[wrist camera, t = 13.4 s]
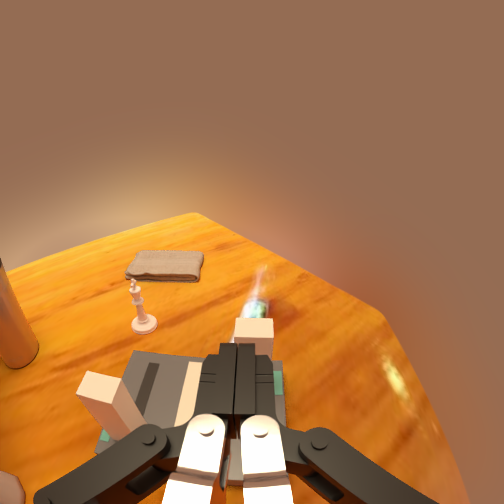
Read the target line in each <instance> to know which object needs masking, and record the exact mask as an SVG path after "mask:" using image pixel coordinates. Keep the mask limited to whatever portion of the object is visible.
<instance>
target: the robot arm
mask: <svg viewBox="0 0 504 504" xmlns="http://www.w3.org/2000/svg"><path fill="white" fill-rule="evenodd" d="M38 347H39V344H38V341H37V339H36V337H35V335H34V333H33V331H32V329H31V327H30V325H29V323H28V321H27V320H26V318H25V315H24V313H23V311H22V309H21V307H20V305H19V303H18V301H17V298H16V296H15V294H14V292H13V290H12V287H11V285H10V282H9V280H8V278H7V275H6V272H5V270H4V267H3V264H2V262H1V259H0V357H1V358H2V359H3V361H4V362H5V364H6V365H7V366H8V367H10V368H14V369H16V368H21V367H24V366H25V365H27V364H28V363H30V362H31V361H32V360H33V359H34V357H35V356H36V354H37V352H38ZM237 435H238V439H240V443H241V450H242V463H243V488H244V503H245V504H293V500H292V493H291V487H290V482H289V478H288V476H287V473H290V474H295V475H296V476H298V477H299V478H300V479H301V480H302V481H303V482H304V483H306V484H307V485H308V486H309V487H310V488H312V489H313V490H314V491H315V492H316V493H318V494H319V495H320V496H321V497H322V498H324V499H325V500H326V501H328V502H329V503H330V504H439V503H437V502H435V501H434V500H432V499H430V498H428V497H427V496H425V495H423V494H422V493H420V492H418V491H417V490H415V489H413V488H412V487H410V486H409V485H407V484H405V483H404V482H402V481H401V480H399V479H398V478H396V477H395V476H393V475H392V474H390V473H389V472H387V471H386V470H384V469H383V468H381V467H380V466H378V465H377V464H375V463H374V462H373V461H371V460H370V459H368V458H367V457H366V456H364V455H363V454H361V453H360V452H359V451H357V450H356V449H355V448H353V447H352V446H351V445H349V444H348V443H347V442H345V441H344V440H343V439H341V438H340V437H339V436H337V435H336V434H335V433H334V432H332V431H331V430H329V429H326V428H321V427H317V428H313V429H310V430H308V431H306V432H302V431H297V430H293V429H289V428H287V427H285V426H284V425H282V424H281V423H280V422H279V420H278V419H277V416H276V408H275V390H274V373H273V363H272V361H271V360H270V358H269V356H268V355H255V343H238V344H237V343H220V349H219V355H212V354H209V355H208V356H207V357H206V359H205V360H204V361H203V363H202V367H201V375H200V379H199V385H198V390H197V396H196V402H195V408H194V413H193V415H192V417H191V418H190V419H189V421H187V422H186V423H184V424H183V425H180V426H176V427H171V428H164V429H162V428H160V427H159V426H157V425H154V424H144V425H141V426H139V427H138V428H136V429H135V430H133V431H132V432H131V433H129V434H128V435H126V436H125V437H123V438H122V439H120V440H119V441H118V442H116V443H115V444H113V445H112V446H110V447H109V448H107V449H106V450H104V451H103V452H101V453H100V454H98V455H97V456H95V457H94V458H92V459H90V460H89V461H87V462H86V463H84V464H83V465H81V466H79V467H78V468H76V469H74V470H73V471H71V472H69V473H68V474H66V475H64V476H63V477H61V478H59V479H58V480H56V481H54V482H52V483H51V484H49V485H47V486H45V487H44V488H42V489H40V490H38V491H37V492H36V493H35V495H34V498H33V503H34V504H137V503H139V502H140V501H141V500H143V499H144V498H146V497H147V496H149V495H150V494H151V493H153V492H154V491H155V490H157V489H158V488H159V487H161V486H162V485H163V484H165V483H166V482H167V481H168V483H167V487H166V491H165V495H164V498H163V502H162V504H226V488H227V481H228V475H229V468H230V461H231V449H230V446H231V439H237Z"/></svg>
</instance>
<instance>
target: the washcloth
mask: <svg viewBox="0 0 504 504" xmlns="http://www.w3.org/2000/svg"><path fill="white" fill-rule="evenodd" d="M203 258H204V254H203V253H202V252H199V251H175V250H174V251H173V250H172V251H169V250H167V251H165V250H163V251H162V250H161V251H158V250H157V251H153V250H152V251H151V250H142V251H140V252H139V253H137V254H136V257H135V259H134V260H133V261H132V263H131V264H130V265H129V267H128V268H127V270H126V271H125V274H126V276H125V278H126V279H134V280H136V281H147V282H148V281H149V282H189V283H192V282H196V281H198V279H199V276H200V267H201V266H202V262H203Z"/></svg>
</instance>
